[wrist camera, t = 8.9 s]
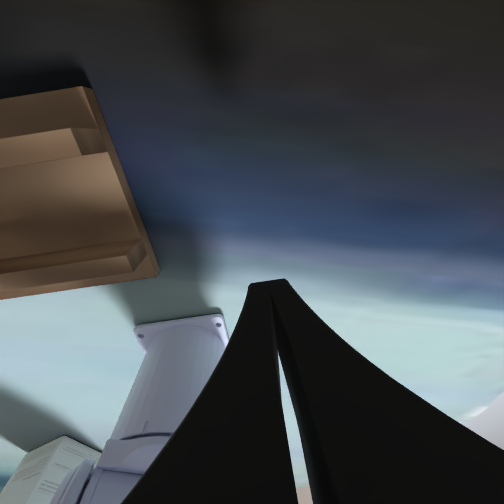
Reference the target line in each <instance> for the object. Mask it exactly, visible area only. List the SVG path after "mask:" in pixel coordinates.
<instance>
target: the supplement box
mask: <svg viewBox="0 0 504 504" xmlns="http://www.w3.org/2000/svg"><path fill="white" fill-rule="evenodd" d="M101 454H102V453H100V452H98V451H96V450H94V449H92V448H90V447H88V446H86V445H83V444H81V443H79V442H77V441H75V440H73V439H71V438H69V437H67V436H62V437H60V438H57V439H55V440H53V441H51V442H49V443H47V444H45V445H43V446H41V447H39V448H36V449H34V450H32V451H30V452H29V453H27V454H26V455H25V457H24V458H23V460H22V461H21V463H20V464H19V466H18V467H17V469H16V470H15V472H14V474H13V475H12V477H11V478H10V480H9V481H8V483H7V484H6V486H5V487H4V489H3V490H2V492H1V493H0V504H50V502H51V500H52V498H53V496H54V495H55V493H56V491H57V489H58V488H59V486H60V484H61V483H62V481H63V479H64V478H65V476H66V475H67V473H68V472H70V471H71V470H72V469H74V468H75V467H77V466H78V465H80V464H81V463H82V461H83V460H85V459H94V460H96V461H95V464H94V466H93V468H96V465H97V463H98V461H99V458H100V456H101Z"/></svg>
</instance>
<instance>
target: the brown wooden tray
mask: <svg viewBox="0 0 504 504" xmlns="http://www.w3.org/2000/svg"><path fill="white" fill-rule="evenodd" d="M159 272H160V268H159V265H158V263H157V260H156V257H155V255H154V252H153V249H152V246H151V244H150V241H149V238H148V236H147V233H146V230H145V228H144V225H143V222H142V220H141V217H140V214H139V212H138V209H137V206H136V204H135V201H134V198H133V196H132V193H131V190H130V188H129V185H128V182H127V180H126V177H125V174H124V172H123V169H122V166H121V164H120V161H119V158H118V156H117V153H116V150H115V148H114V145H113V142H112V140H111V137H110V134H109V132H108V129H107V126H106V124H105V121H104V118H103V115H102V113H101V110H100V107H99V105H98V102H97V99H96V97H95V94H94V91H93V89H90V88H87V87H83V86H80V87H73V88H67V89H61V90H55V91H49V92H42V93H36V94H30V95H24V96H18V97H11V98H5V99H0V300H2V299H9V298H16V297H23V296H30V295H37V294H43V293H50V292H57V291H64V290H71V289H78V288H85V287H91V286H98V285H105V284H112V283H119V282H126V281H133V280H139V279H146V278H153V277H157V275H158V273H159Z"/></svg>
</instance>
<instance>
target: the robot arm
mask: <svg viewBox="0 0 504 504" xmlns="http://www.w3.org/2000/svg"><path fill="white" fill-rule="evenodd" d="M217 323H220V324H217ZM133 332H134V334H135V336H136V338H137V340H138V342H139V344H140V346H141V348H142V350H143V352H144V354H145V357H144V359H143V362H142V364H141V367H140V369H139V371H138V374H137V376H136V378H135V381H134V383H133V386H132V388H131V390H130V393H129V395H128V397H127V400H126V402H125V404H124V407H123V409H122V412H121V414H120V416H119V419H118V421H117V423H116V426H115V428H114V430H113V433H112V435H111V438H110V439H109V440H107V442H106V444H105V447H104V449H103V451H102V454H101V456H100V458H99V461H98V463H97V465H96V468H93V466H94V464H95V461H96V460H94V459H85V460H83V461H82V463H81V464H80V465H78V466H77V467H75V468H74V469H72V470H71V471H70V472H68V473H67V475H66V476H65V478H64V479H63V481H62V483H61V484H60V486H59V488H58V489H57V491H56V493H55V495H54V496H53V498H52V500H51V502H50V504H298V500H297V493H296V487H295V481H294V475H293V469H292V463H291V457H290V451H289V445H288V439H287V433H286V427H285V421H284V415H283V408H282V400H281V387H280V374H279V362H278V353H279V357H280V360H281V364H282V368H283V371H284V375H285V379H286V382H287V386H288V390H289V393H290V397H291V401H292V404H293V408H294V412H295V415H296V420H297V424H298V428H299V433H300V438H301V443H302V448H303V453H304V458H305V464H306V469H307V474H308V479H309V485H310V490H311V495H312V500H313V504H504V450H502V449H501V448H499V447H497V446H496V445H494V444H492V443H491V442H489V441H487V440H486V439H484V438H482V437H481V436H479V435H478V434H476V433H475V432H473V431H471V430H470V429H468V428H467V427H465V426H463V425H462V424H460V423H459V422H457V421H455V420H454V419H452V418H451V417H449V416H447V415H446V414H444V413H443V412H441V411H440V410H438V409H437V408H435V407H434V406H432V405H431V404H430V403H428V402H427V401H425V400H424V399H422V398H421V397H419V396H418V395H416V394H415V393H413V392H412V391H410V390H409V389H407V388H406V387H404V386H403V385H401V384H400V383H398V382H397V381H396V380H394V379H393V378H391V377H390V376H389V375H387V374H386V373H385V372H383V371H382V370H381V369H379V368H378V367H377V366H375V365H374V364H373V363H371V362H370V361H369V360H367V359H366V358H365V357H364V356H362V355H361V354H360V353H359V352H357V351H356V350H355V349H354V348H353V347H351V346H350V345H349V344H348V343H347V342H345V341H344V340H343V339H342V338H341V337H340V336H339V335H338V334H336V333H335V332H334V331H333V330H332V329H331V328H330V327H329V326H328V325H327V324H326V323H325V322H324V321H323V320H322V319H320V317H319V316H318V315H317V314H316V313H315V312H314V311H313V310H312V309H311V308H310V307H309V306H308V305H307V304H306V303H305V302H304V301H303V300H302V298H301V297H300V296H299V295H298V294H297V292H296V291H295V290H294V289H293V288H292V286H291V285H290V284H289V282H288V281H287V280H286V279H277V280H270V281H263V282H256V283H251V284H250V285H249V286H248V292H247V296H246V299H245V303H244V306H243V309H242V311H241V314H240V317H239V319H238V322H237V324H236V327H235V329H234V331H233V333H232V336H231V338H230V340H229V338H228V334H227V330H226V326H225V322H224V319H223V316H222V315H221V314H212V315H205V316H198V317H191V318H184V319H177V320H170V321H163V322H156V323H149V324H142V325H137V326H136V327H135V328H134V330H133ZM141 334H143V335H141Z"/></svg>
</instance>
